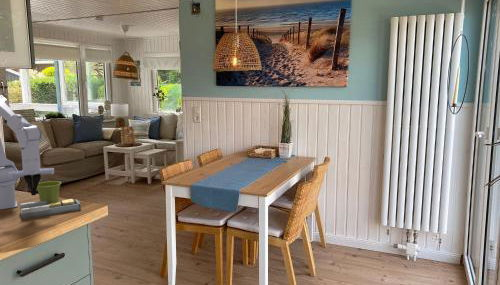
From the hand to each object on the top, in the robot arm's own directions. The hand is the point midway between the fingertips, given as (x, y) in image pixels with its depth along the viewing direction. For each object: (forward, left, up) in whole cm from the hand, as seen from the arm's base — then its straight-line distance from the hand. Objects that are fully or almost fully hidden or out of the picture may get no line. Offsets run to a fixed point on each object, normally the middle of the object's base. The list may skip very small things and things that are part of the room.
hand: (33, 194), depth 145 cm
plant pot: (-9, +6, -8) cm, 14 cm away
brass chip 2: (0, +11, -7) cm, 13 cm away
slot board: (0, 0, -7) cm, 7 cm away
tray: (0, +10, -7) cm, 12 cm away
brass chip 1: (0, +7, -7) cm, 10 cm away
